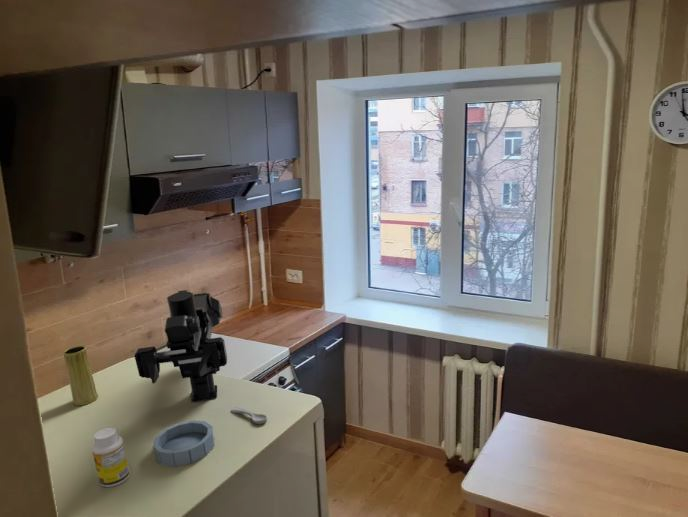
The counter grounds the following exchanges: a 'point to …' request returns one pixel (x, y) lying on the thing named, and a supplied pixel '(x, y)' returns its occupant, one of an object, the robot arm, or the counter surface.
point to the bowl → (183, 443)
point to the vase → (80, 376)
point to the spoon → (255, 417)
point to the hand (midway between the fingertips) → (176, 378)
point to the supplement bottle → (110, 457)
